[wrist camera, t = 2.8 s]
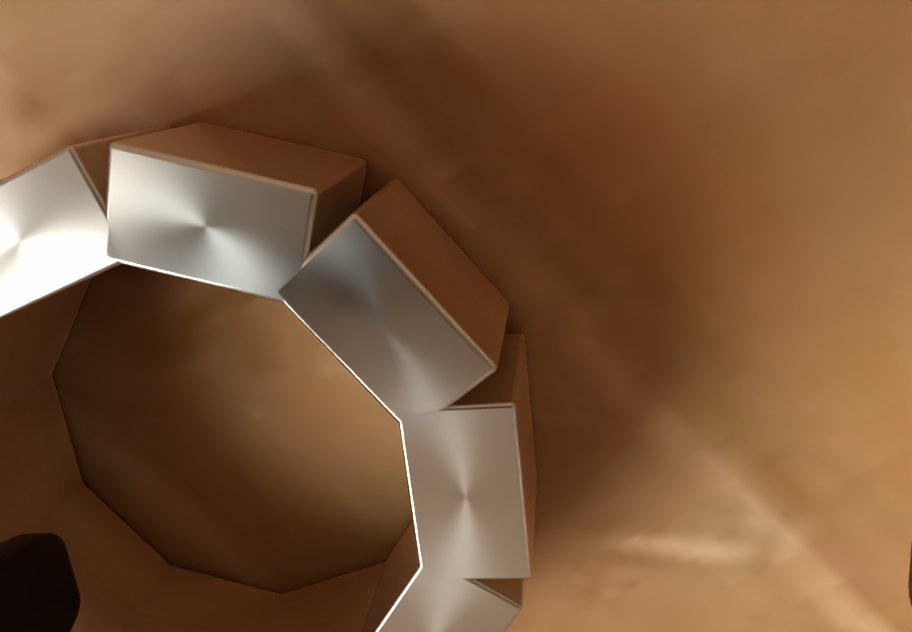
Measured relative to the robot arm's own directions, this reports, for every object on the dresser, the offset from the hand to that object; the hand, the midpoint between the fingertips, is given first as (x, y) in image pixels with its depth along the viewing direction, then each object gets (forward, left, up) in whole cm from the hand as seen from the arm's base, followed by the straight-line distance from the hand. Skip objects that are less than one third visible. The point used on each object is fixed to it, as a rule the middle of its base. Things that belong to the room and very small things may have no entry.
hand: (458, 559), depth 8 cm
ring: (+4, 0, -4) cm, 5 cm away
